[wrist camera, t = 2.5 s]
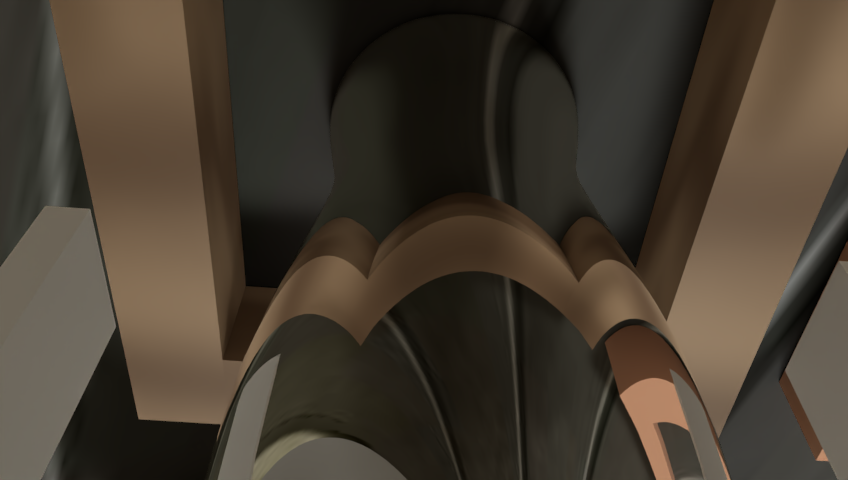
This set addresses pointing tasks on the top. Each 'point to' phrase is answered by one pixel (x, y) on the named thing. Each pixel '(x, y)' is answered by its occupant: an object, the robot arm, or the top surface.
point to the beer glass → (462, 293)
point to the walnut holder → (245, 306)
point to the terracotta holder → (794, 400)
